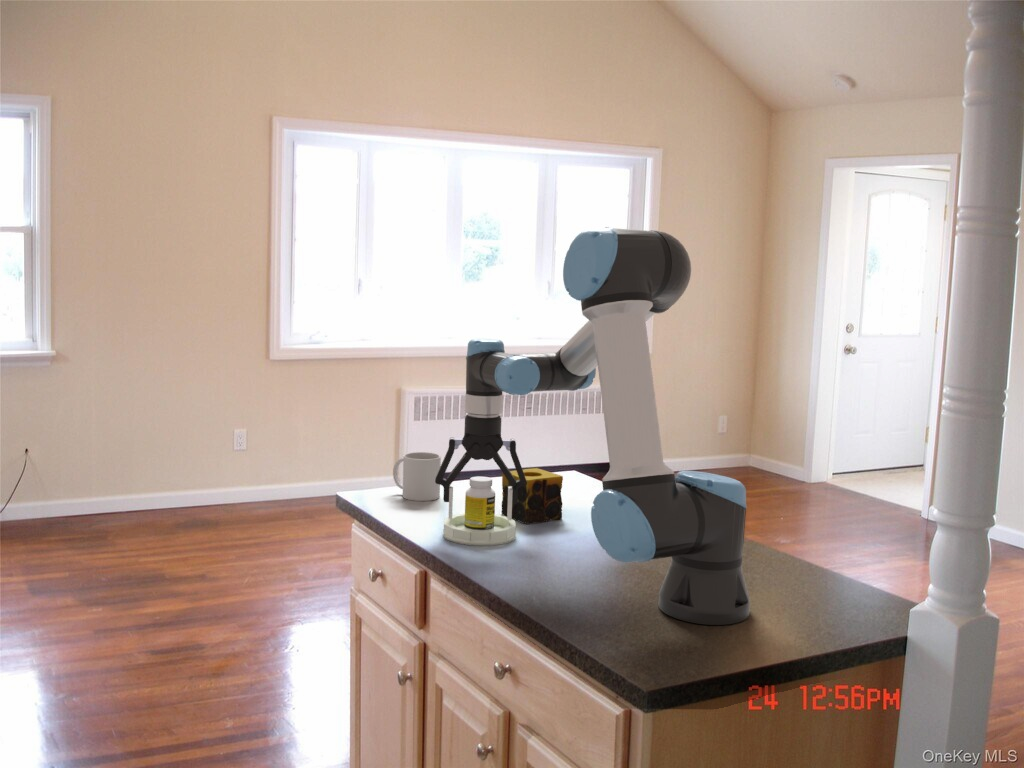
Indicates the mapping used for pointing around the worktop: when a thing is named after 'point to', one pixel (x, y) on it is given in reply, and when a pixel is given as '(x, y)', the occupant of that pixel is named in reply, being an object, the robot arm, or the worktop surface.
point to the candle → (535, 497)
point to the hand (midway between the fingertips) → (479, 518)
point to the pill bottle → (480, 505)
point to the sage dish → (459, 534)
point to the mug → (419, 476)
